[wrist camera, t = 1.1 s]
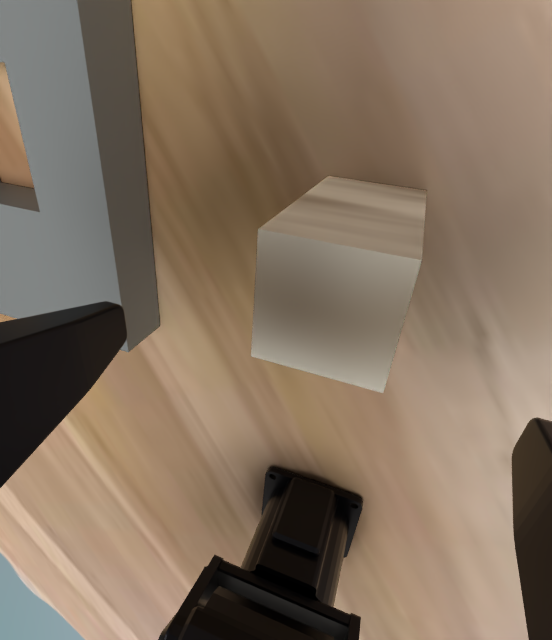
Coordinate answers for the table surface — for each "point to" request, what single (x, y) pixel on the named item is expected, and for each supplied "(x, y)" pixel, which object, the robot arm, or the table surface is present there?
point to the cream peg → (338, 279)
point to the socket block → (76, 165)
